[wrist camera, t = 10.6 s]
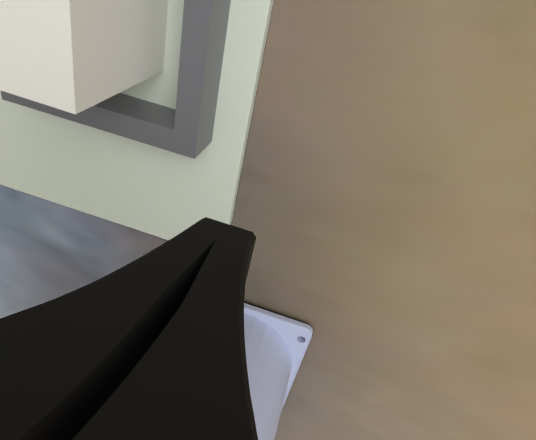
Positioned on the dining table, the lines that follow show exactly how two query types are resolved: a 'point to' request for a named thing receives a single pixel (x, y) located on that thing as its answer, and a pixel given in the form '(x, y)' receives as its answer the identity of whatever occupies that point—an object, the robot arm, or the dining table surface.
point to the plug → (79, 48)
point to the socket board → (151, 129)
